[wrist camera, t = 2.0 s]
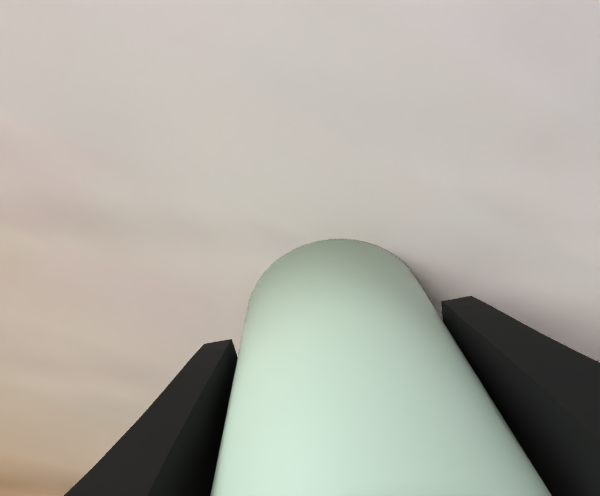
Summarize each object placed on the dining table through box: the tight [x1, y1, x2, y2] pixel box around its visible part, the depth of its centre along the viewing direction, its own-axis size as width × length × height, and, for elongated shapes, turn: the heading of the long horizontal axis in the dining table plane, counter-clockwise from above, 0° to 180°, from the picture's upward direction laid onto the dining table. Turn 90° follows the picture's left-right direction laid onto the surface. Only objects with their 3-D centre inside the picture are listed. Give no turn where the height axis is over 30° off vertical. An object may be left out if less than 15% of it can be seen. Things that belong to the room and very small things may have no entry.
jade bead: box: [210, 239, 552, 496], centre depth 7 cm, size 4×4×6 cm
